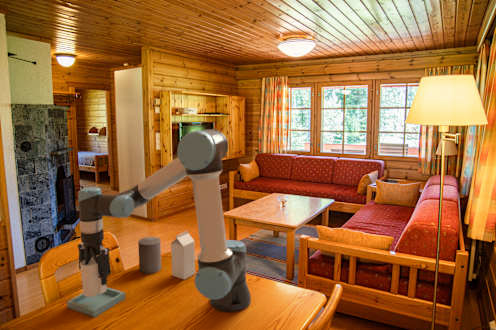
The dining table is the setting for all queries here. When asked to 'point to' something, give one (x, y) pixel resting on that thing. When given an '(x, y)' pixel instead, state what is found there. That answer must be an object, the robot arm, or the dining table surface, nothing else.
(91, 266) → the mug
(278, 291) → the dining table surface
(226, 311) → the robot arm
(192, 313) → the dining table surface
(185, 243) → the milk carton
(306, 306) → the dining table surface
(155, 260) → the dark gray cylinder
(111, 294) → the tray
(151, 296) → the dining table surface
